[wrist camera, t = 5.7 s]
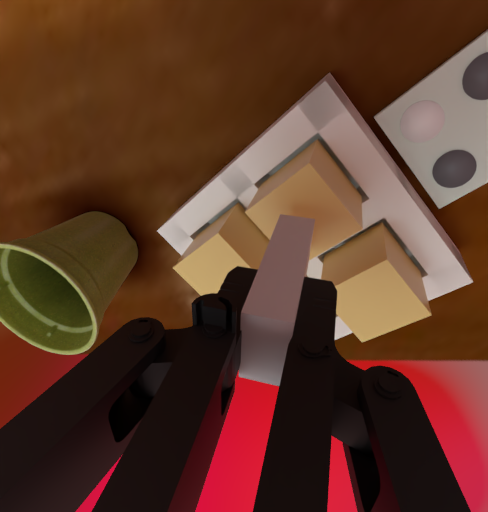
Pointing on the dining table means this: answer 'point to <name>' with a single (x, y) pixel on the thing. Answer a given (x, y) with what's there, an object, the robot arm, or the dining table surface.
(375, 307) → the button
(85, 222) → the plant pot
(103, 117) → the dining table surface
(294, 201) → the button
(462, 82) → the pattern card
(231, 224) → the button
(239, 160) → the board
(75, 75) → the dining table surface
